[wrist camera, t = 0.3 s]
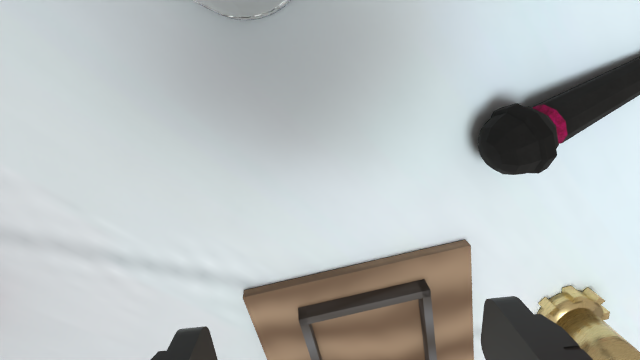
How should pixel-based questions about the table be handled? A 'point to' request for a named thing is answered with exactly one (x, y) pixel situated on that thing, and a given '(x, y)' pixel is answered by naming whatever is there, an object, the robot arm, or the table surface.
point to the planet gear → (587, 324)
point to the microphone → (553, 121)
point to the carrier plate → (372, 310)
